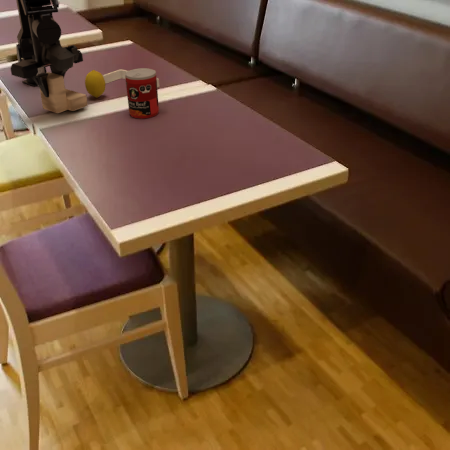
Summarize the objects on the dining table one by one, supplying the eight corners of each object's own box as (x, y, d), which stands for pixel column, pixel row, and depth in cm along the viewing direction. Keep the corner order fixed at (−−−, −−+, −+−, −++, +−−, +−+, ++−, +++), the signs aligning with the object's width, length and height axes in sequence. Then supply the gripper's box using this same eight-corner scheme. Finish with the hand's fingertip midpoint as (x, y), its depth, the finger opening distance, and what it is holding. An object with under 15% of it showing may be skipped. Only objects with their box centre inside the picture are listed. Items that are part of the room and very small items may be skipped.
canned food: (123, 116, 160) (119, 75, 155) (140, 106, 166) (137, 66, 161) (147, 121, 157) (144, 79, 152) (164, 110, 163) (161, 70, 158)
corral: (91, 87, 180) (90, 79, 179) (121, 77, 189) (120, 69, 187) (129, 98, 172) (128, 89, 171) (159, 86, 180) (158, 78, 179)
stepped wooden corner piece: (38, 106, 164) (32, 73, 160) (63, 98, 170) (58, 66, 165) (62, 114, 159) (57, 81, 154) (87, 105, 165) (83, 72, 160)
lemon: (109, 94, 175) (105, 67, 171) (103, 101, 170) (100, 73, 166) (90, 94, 175) (86, 66, 171) (84, 101, 171) (80, 72, 167)
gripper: (32, 48, 142) (43, 112, 150) (93, 31, 155) (100, 91, 163) (3, 41, 148) (16, 102, 156) (64, 25, 160) (73, 83, 169)
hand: (53, 95), depth 161 cm, fingers closed on stepped wooden corner piece, 3 cm apart
